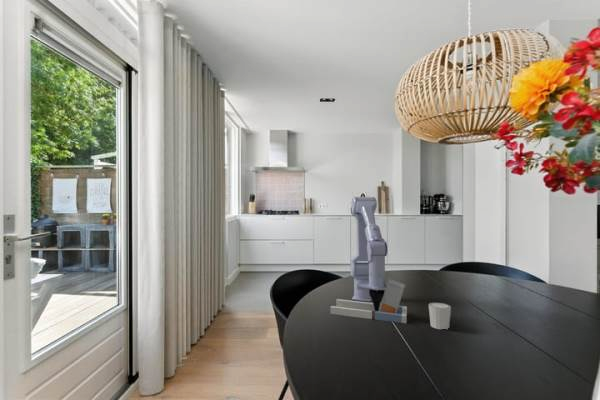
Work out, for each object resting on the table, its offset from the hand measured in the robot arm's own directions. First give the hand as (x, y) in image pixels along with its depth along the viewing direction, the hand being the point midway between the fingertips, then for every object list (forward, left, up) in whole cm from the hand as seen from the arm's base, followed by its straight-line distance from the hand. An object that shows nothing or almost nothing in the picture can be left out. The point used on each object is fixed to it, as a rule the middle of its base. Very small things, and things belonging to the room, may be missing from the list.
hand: (376, 310), depth 115 cm
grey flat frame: (0, -3, -1) cm, 3 cm away
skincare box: (0, +4, -1) cm, 4 cm away
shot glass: (+4, +21, -2) cm, 21 cm away
